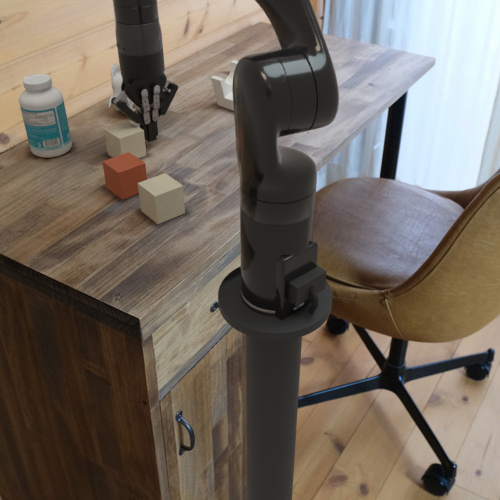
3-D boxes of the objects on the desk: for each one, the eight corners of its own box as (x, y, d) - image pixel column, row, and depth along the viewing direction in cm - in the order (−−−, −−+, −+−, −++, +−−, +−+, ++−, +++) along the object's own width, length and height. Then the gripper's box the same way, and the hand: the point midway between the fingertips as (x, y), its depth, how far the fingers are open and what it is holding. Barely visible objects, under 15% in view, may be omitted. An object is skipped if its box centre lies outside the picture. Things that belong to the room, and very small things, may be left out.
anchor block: (148, 189, 106) (145, 162, 103) (122, 200, 104) (118, 172, 101) (132, 178, 109) (128, 151, 106) (106, 188, 107) (102, 161, 104)
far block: (146, 155, 116) (143, 130, 113) (122, 164, 113) (119, 138, 110) (131, 146, 119) (128, 120, 116) (107, 154, 116) (104, 129, 113)
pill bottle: (54, 137, 122) (40, 67, 114) (81, 147, 119) (68, 76, 111) (21, 152, 117) (5, 80, 109) (49, 163, 114) (34, 90, 106)
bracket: (218, 108, 135) (210, 77, 129) (240, 90, 138) (233, 59, 132) (266, 126, 128) (260, 94, 122) (288, 107, 131) (283, 74, 125)
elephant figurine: (98, 118, 129) (92, 74, 124) (130, 96, 138) (125, 55, 133) (140, 125, 126) (135, 82, 121) (169, 102, 135) (166, 61, 130)
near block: (185, 213, 100) (183, 185, 97) (157, 224, 98) (154, 196, 95) (167, 200, 104) (165, 172, 101) (140, 210, 101) (137, 182, 98)
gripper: (117, 61, 102) (130, 158, 112) (185, 42, 109) (191, 135, 119) (93, 48, 107) (108, 143, 117) (160, 31, 113) (168, 122, 124)
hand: (150, 139), depth 118 cm, fingers closed
